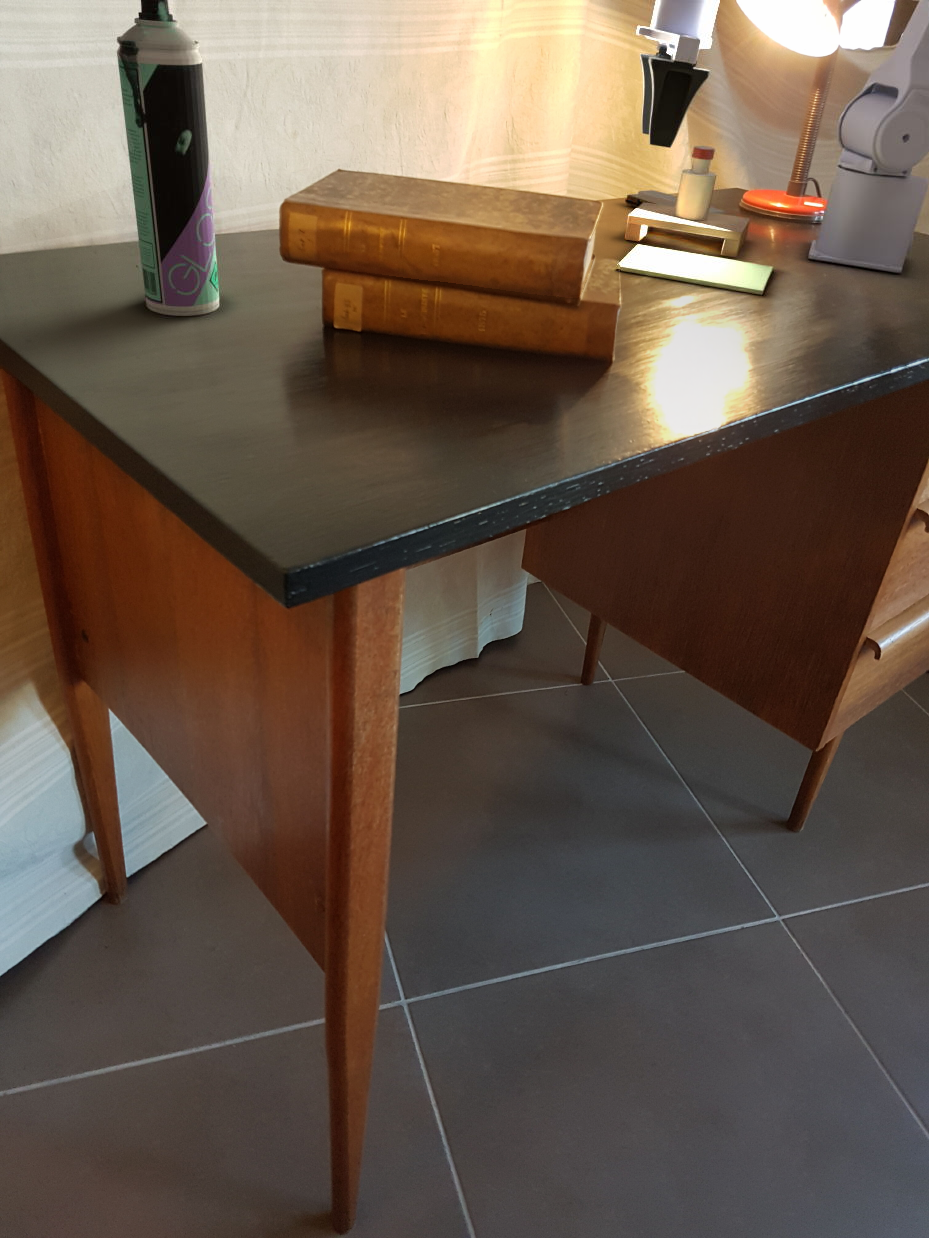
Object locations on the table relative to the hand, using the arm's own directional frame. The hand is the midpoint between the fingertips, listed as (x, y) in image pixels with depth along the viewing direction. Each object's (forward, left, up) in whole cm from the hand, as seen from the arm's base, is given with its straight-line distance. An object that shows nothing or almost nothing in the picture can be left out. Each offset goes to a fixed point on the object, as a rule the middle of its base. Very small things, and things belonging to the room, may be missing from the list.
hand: (655, 140), depth 95 cm
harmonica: (-1, -17, -10) cm, 20 cm away
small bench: (-4, -6, -10) cm, 12 cm away
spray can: (+27, +43, -10) cm, 52 cm away
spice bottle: (-4, -6, -8) cm, 10 cm away
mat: (-7, +6, -10) cm, 14 cm away
